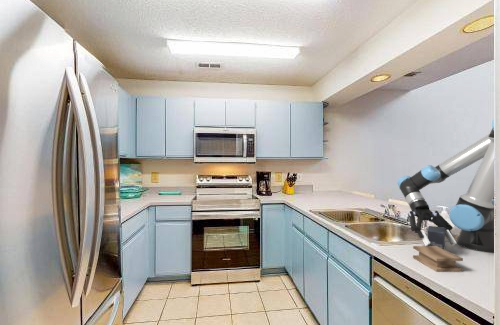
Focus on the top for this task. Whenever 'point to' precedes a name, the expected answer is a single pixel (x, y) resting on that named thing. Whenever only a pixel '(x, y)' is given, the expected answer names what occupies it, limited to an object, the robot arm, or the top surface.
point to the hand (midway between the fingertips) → (441, 244)
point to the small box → (436, 236)
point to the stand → (437, 259)
